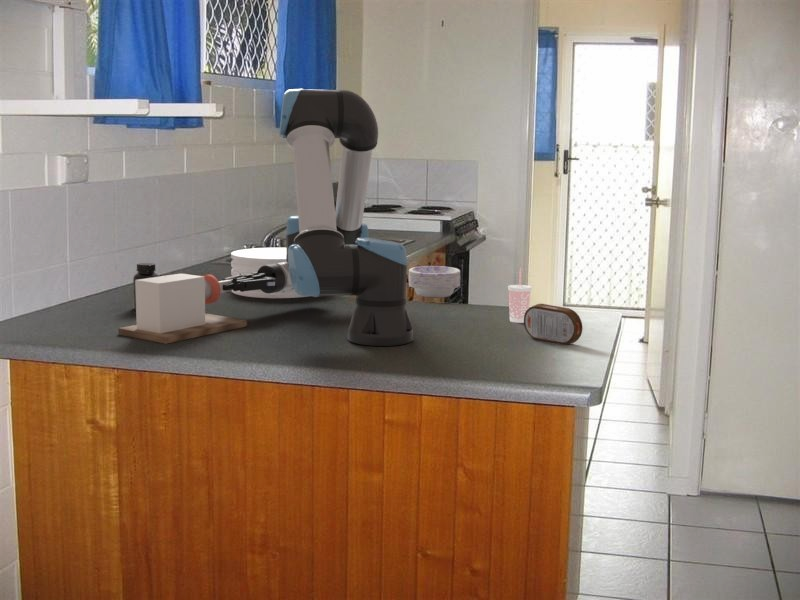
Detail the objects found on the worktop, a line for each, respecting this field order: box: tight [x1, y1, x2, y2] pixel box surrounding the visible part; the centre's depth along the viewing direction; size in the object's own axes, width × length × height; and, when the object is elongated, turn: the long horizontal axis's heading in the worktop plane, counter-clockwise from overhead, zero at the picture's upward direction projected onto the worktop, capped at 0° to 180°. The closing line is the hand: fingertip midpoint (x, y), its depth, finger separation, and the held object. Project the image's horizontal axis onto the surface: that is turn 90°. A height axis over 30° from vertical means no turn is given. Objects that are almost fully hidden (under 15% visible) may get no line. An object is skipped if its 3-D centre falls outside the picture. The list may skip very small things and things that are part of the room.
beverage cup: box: [507, 266, 533, 324], centre depth 254 cm, size 6×6×14 cm
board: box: [117, 312, 248, 345], centre depth 236 cm, size 26×16×2 cm, turn 145°
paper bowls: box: [408, 265, 461, 299], centre depth 291 cm, size 15×15×8 cm
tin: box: [523, 303, 583, 345], centre depth 230 cm, size 15×3×8 cm, turn 47°
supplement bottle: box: [132, 262, 160, 310], centre depth 263 cm, size 7×7×12 cm
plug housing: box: [135, 273, 206, 333], centre depth 232 cm, size 14×8×12 cm, turn 145°
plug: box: [201, 274, 221, 305], centre depth 236 cm, size 14×7×7 cm, turn 145°
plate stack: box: [230, 247, 309, 299], centre depth 296 cm, size 28×28×12 cm
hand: (210, 288), depth 242 cm, fingers closed
